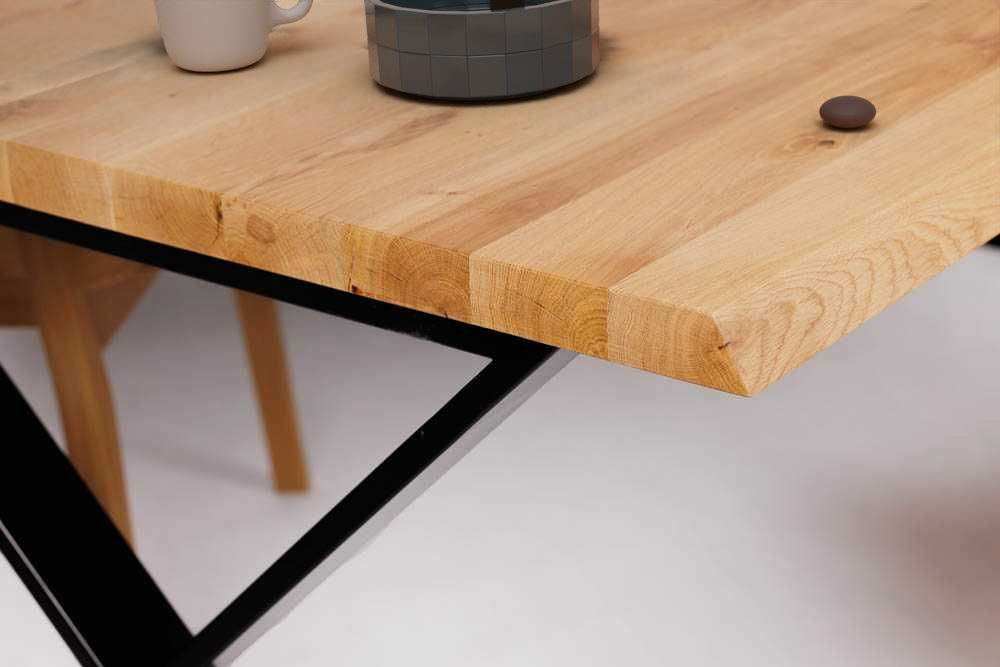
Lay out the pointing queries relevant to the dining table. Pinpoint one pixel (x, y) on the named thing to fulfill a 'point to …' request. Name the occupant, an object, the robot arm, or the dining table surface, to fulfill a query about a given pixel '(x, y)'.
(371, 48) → the bowl
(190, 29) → the cup
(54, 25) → the dining table surface
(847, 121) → the chocolate truffle
